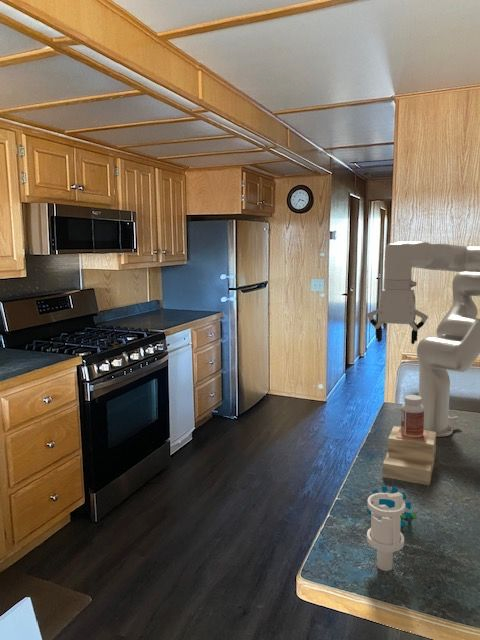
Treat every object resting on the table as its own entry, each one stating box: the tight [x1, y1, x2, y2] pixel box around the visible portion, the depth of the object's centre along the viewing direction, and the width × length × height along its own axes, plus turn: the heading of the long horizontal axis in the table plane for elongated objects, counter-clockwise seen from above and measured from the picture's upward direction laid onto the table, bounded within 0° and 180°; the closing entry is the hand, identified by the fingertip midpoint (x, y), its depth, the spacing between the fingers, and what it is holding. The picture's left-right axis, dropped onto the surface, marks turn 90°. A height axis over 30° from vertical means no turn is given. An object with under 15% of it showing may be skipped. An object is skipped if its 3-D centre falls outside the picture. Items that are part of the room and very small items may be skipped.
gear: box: [366, 485, 418, 529], centre depth 113 cm, size 11×6×10 cm
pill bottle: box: [400, 394, 424, 438], centre depth 140 cm, size 6×6×11 cm
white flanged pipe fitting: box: [366, 491, 406, 572], centre depth 97 cm, size 7×7×15 cm
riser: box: [382, 425, 437, 486], centre depth 138 cm, size 18×12×8 cm, turn 154°
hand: (396, 342), depth 147 cm, fingers open, 9 cm apart
